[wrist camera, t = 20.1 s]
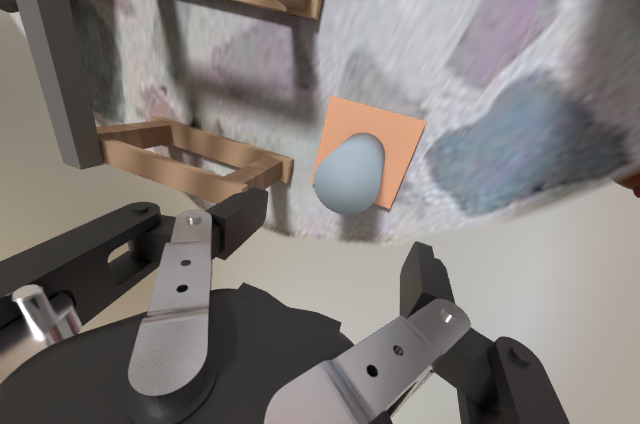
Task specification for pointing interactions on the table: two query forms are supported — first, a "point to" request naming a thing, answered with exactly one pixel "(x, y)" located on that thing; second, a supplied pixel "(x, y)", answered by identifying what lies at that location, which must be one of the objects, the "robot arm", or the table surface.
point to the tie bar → (62, 79)
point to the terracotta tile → (385, 125)
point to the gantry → (200, 143)
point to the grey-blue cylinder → (351, 175)
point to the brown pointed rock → (8, 3)
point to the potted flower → (631, 182)
